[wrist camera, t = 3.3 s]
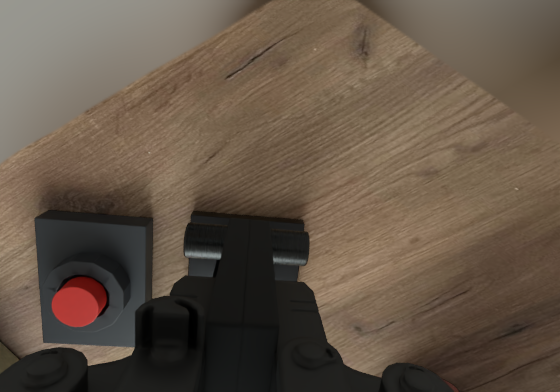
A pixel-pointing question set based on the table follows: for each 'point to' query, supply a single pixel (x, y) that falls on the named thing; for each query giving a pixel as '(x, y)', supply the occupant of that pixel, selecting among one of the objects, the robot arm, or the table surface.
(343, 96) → the table surface
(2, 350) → the tissue box
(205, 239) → the lever
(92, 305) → the button
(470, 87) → the table surface
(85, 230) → the button block
